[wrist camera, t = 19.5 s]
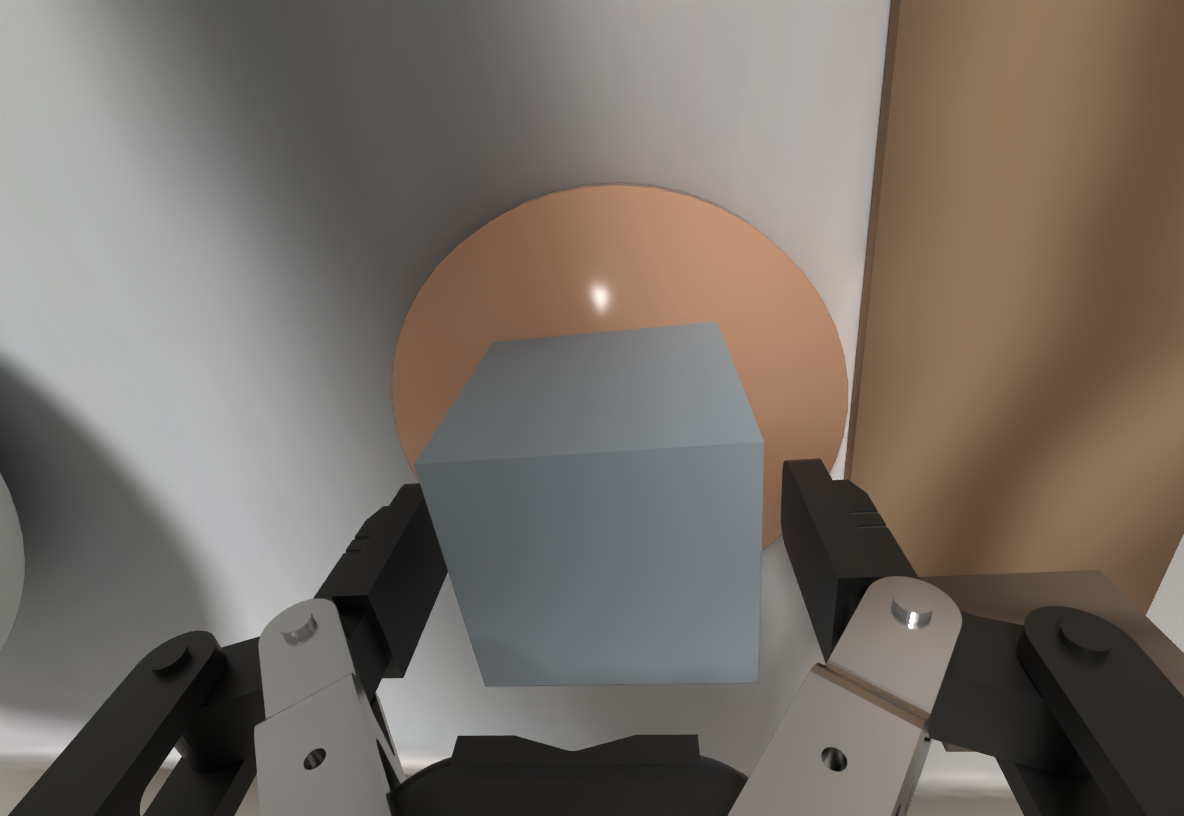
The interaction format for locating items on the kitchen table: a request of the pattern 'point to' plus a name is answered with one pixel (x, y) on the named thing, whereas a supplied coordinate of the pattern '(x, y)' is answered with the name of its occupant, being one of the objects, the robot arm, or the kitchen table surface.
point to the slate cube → (603, 510)
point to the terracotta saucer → (631, 310)
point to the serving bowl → (9, 563)
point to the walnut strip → (1029, 307)
